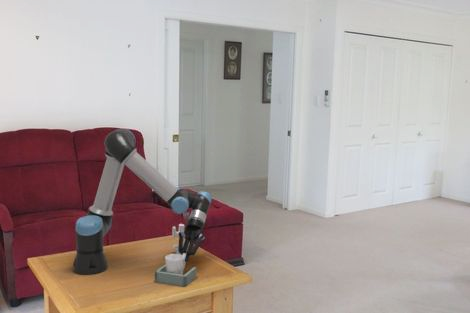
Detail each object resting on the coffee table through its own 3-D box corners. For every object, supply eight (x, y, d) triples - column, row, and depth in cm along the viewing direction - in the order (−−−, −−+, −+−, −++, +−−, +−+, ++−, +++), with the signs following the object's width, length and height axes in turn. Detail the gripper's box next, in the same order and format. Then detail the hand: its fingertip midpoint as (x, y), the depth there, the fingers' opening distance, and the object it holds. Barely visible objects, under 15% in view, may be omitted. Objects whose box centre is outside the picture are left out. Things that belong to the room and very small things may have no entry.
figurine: (192, 254, 239) (193, 225, 237) (175, 257, 234) (175, 227, 232) (187, 250, 245) (187, 221, 243) (170, 252, 241) (170, 223, 239)
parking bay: (154, 281, 203) (154, 271, 203) (166, 272, 214) (166, 263, 213) (185, 286, 199) (185, 276, 198) (196, 277, 209) (196, 267, 209)
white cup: (180, 283, 202) (180, 261, 200) (162, 281, 204) (162, 259, 202) (186, 276, 209) (186, 254, 208) (169, 274, 211) (169, 253, 210)
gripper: (211, 227, 225) (197, 273, 211) (186, 224, 229) (170, 269, 215) (207, 219, 219) (192, 266, 205) (181, 216, 223) (165, 262, 210)
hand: (181, 267), depth 210 cm, fingers closed
